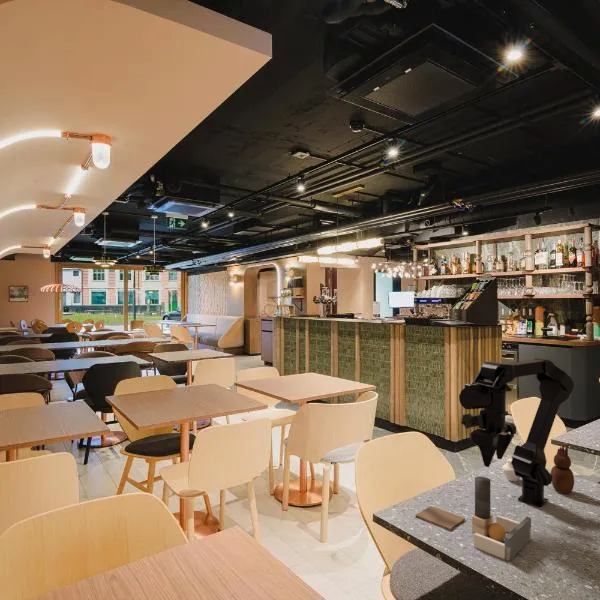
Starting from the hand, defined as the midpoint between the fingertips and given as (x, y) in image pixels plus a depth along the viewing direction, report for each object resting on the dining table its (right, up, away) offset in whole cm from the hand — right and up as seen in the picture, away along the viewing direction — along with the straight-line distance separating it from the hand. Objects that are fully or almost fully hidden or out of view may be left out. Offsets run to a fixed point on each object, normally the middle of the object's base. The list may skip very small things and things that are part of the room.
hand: (493, 462), depth 123 cm
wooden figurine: (+27, -14, +12) cm, 33 cm away
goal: (-5, -13, -17) cm, 22 cm away
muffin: (+16, -14, +21) cm, 30 cm away
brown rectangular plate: (-16, -13, -6) cm, 22 cm away
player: (-9, -13, -14) cm, 21 cm away
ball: (-6, -11, -16) cm, 21 cm away
